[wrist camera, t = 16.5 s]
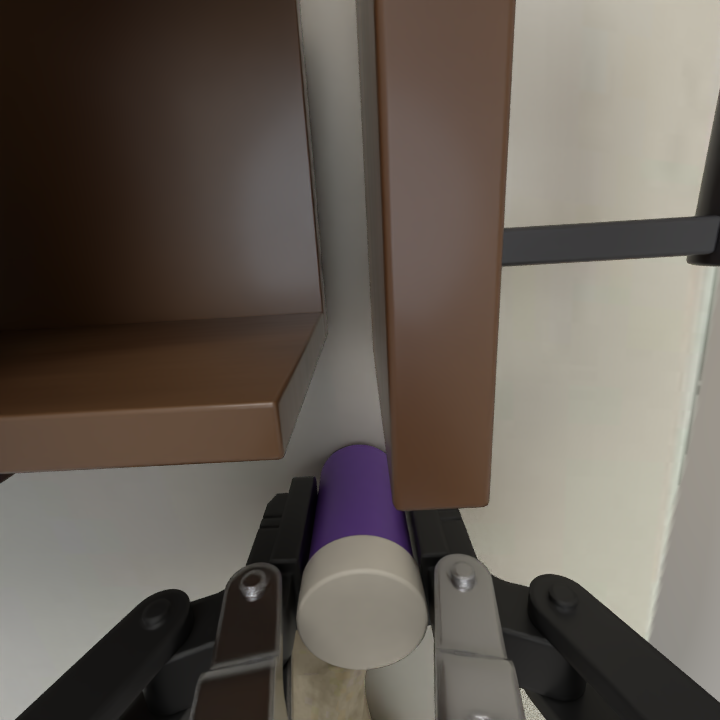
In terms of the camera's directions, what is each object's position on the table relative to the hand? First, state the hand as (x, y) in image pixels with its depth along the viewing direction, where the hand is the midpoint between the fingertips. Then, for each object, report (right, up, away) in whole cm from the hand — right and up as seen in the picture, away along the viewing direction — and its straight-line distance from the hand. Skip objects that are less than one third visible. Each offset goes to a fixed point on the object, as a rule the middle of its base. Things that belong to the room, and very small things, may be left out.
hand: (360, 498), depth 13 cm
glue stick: (0, 0, +1) cm, 1 cm away
